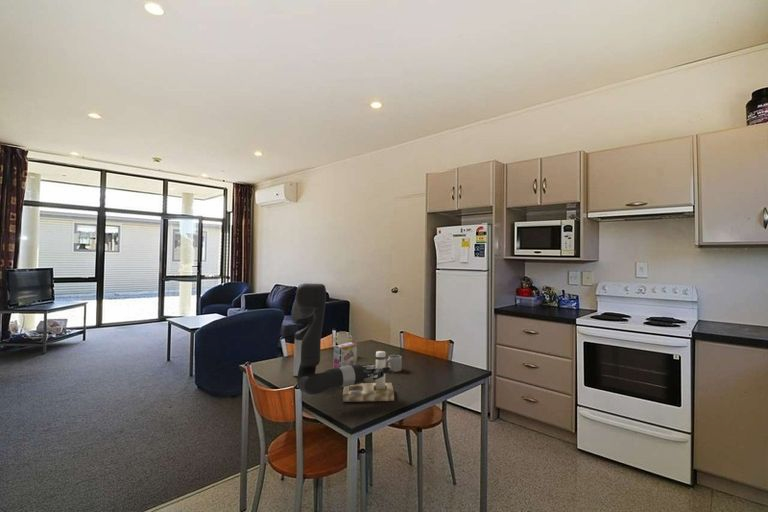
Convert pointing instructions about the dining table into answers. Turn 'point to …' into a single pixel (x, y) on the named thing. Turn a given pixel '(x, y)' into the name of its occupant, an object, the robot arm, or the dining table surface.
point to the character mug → (342, 338)
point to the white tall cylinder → (380, 364)
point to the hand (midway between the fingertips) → (386, 368)
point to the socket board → (367, 393)
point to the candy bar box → (344, 355)
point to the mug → (394, 363)
